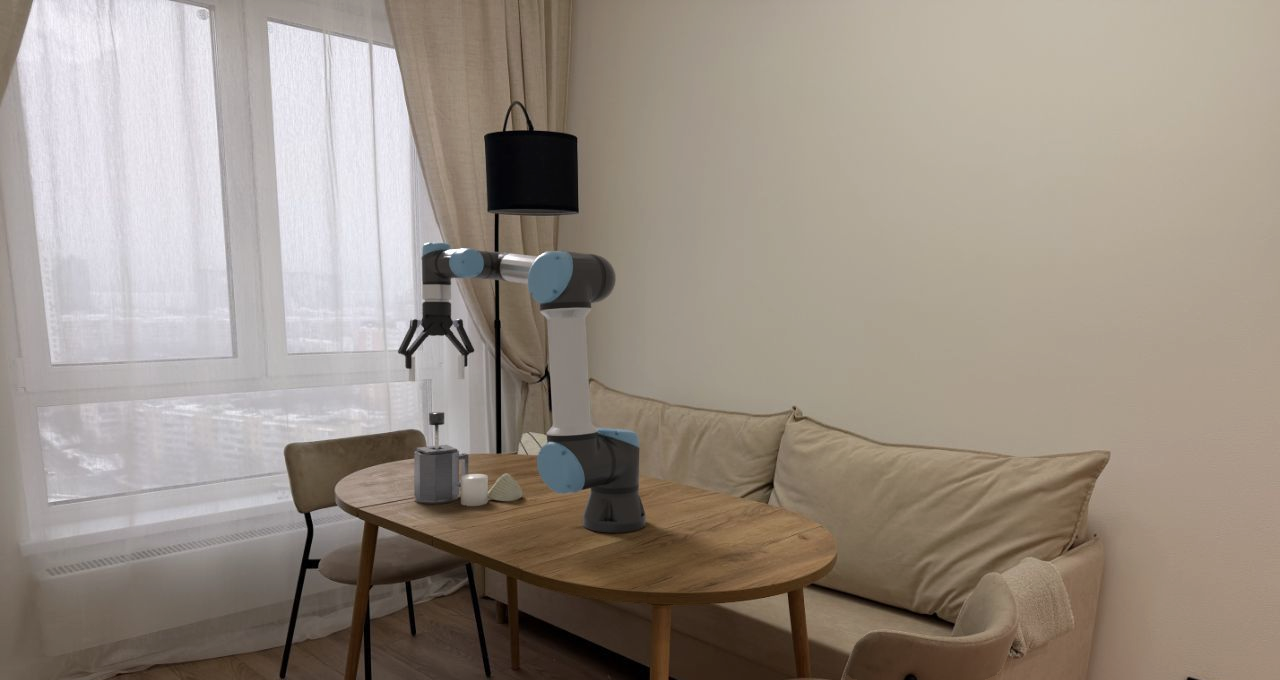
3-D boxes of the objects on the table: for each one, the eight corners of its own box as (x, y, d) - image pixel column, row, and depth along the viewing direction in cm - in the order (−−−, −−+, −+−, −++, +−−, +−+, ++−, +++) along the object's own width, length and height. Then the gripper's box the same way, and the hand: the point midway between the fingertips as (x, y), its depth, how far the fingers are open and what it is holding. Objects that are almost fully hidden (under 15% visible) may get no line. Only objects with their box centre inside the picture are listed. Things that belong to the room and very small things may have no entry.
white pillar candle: (491, 503, 203) (491, 477, 203) (466, 507, 199) (466, 480, 199) (481, 498, 209) (481, 472, 209) (456, 501, 205) (456, 475, 205)
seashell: (530, 491, 208) (509, 480, 203) (511, 515, 208) (489, 505, 203) (521, 475, 214) (499, 464, 209) (502, 498, 215) (480, 487, 210)
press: (474, 499, 208) (474, 448, 207) (423, 506, 200) (423, 453, 199) (459, 490, 217) (459, 442, 216) (409, 497, 209) (409, 447, 208)
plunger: (455, 483, 206) (455, 413, 206) (427, 487, 202) (427, 415, 201) (445, 478, 212) (445, 410, 212) (418, 481, 208) (418, 412, 208)
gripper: (475, 301, 216) (475, 377, 216) (385, 300, 201) (386, 381, 202) (486, 301, 209) (486, 379, 210) (394, 300, 195) (394, 383, 196)
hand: (437, 380), depth 206 cm, fingers open, 13 cm apart
